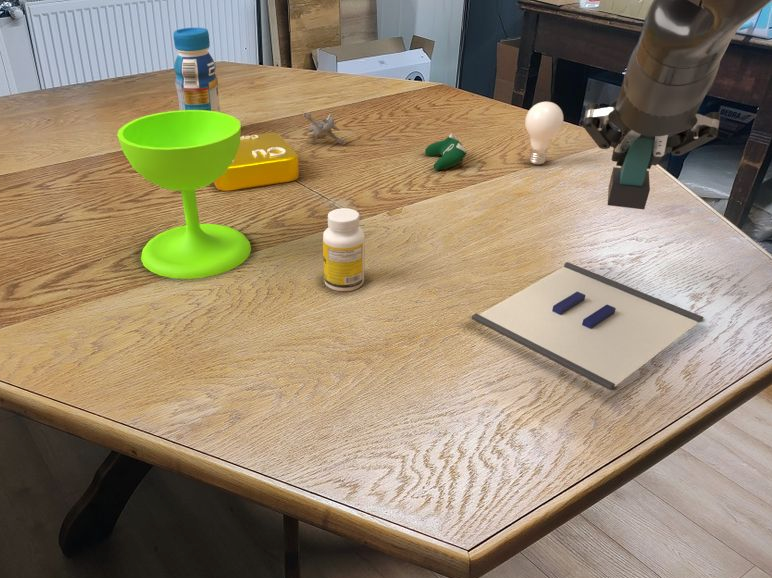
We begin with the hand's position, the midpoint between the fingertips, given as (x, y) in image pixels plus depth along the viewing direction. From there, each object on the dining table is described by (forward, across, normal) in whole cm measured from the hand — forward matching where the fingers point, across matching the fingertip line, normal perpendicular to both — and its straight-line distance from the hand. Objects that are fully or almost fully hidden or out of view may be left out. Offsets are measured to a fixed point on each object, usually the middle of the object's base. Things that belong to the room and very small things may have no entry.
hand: (633, 159), depth 81 cm
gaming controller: (+36, +28, -14) cm, 48 cm away
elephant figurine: (+39, +54, -16) cm, 68 cm away
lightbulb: (+39, +12, -16) cm, 44 cm away
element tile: (+26, +61, -3) cm, 66 cm away
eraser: (+1, 0, +4) cm, 4 cm away
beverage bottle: (+38, +79, -15) cm, 89 cm away
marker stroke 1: (+3, +4, +18) cm, 19 cm away
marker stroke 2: (+2, 0, +19) cm, 19 cm away
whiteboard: (+2, +2, +21) cm, 21 cm away
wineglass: (+4, +55, +19) cm, 59 cm away
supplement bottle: (+3, +32, +20) cm, 38 cm away
